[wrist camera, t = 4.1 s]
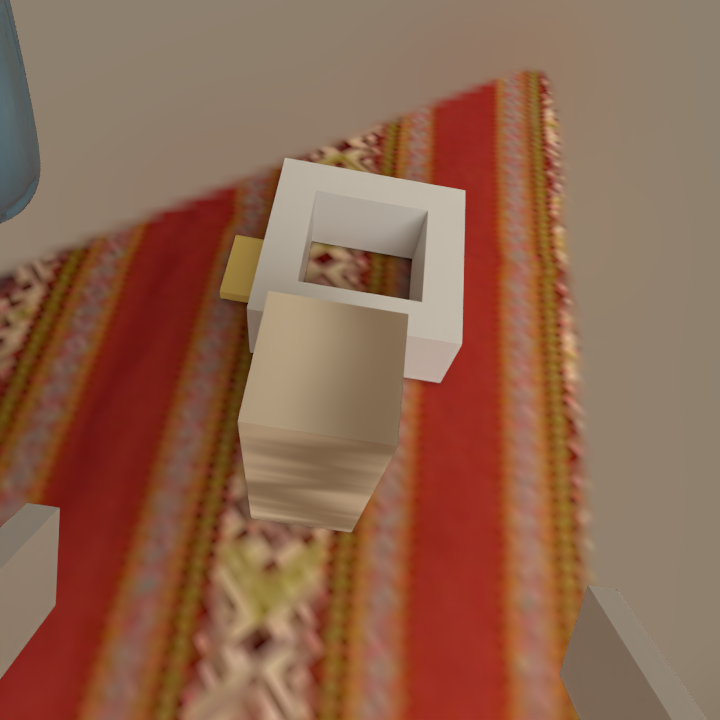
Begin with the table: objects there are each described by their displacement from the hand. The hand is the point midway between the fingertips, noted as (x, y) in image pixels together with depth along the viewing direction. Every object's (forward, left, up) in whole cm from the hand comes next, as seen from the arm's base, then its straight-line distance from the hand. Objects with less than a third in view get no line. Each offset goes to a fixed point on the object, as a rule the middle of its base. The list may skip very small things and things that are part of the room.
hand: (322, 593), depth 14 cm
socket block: (-1, +17, -11) cm, 20 cm away
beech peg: (-1, +6, -11) cm, 12 cm away
